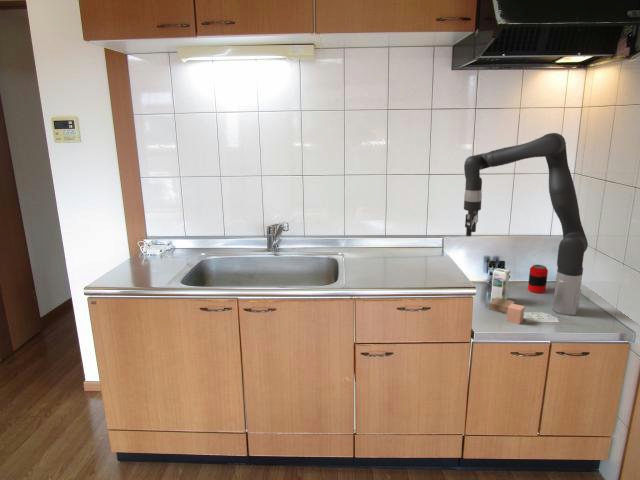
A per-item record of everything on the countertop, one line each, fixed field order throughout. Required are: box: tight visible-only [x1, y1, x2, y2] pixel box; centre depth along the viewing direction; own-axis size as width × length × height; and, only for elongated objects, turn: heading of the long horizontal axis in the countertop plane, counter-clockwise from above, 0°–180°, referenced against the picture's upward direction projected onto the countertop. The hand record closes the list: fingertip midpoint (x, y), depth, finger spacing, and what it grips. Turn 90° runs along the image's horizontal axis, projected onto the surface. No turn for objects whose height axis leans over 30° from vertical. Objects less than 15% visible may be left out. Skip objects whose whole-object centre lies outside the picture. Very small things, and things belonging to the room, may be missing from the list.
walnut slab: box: [488, 297, 516, 315], centre depth 193 cm, size 8×8×3 cm
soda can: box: [527, 264, 549, 294], centre depth 210 cm, size 8×8×12 cm
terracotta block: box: [506, 303, 525, 325], centre depth 181 cm, size 5×5×6 cm
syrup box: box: [490, 268, 511, 302], centre depth 200 cm, size 6×6×14 cm
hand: (470, 233), depth 208 cm, fingers open, 8 cm apart
